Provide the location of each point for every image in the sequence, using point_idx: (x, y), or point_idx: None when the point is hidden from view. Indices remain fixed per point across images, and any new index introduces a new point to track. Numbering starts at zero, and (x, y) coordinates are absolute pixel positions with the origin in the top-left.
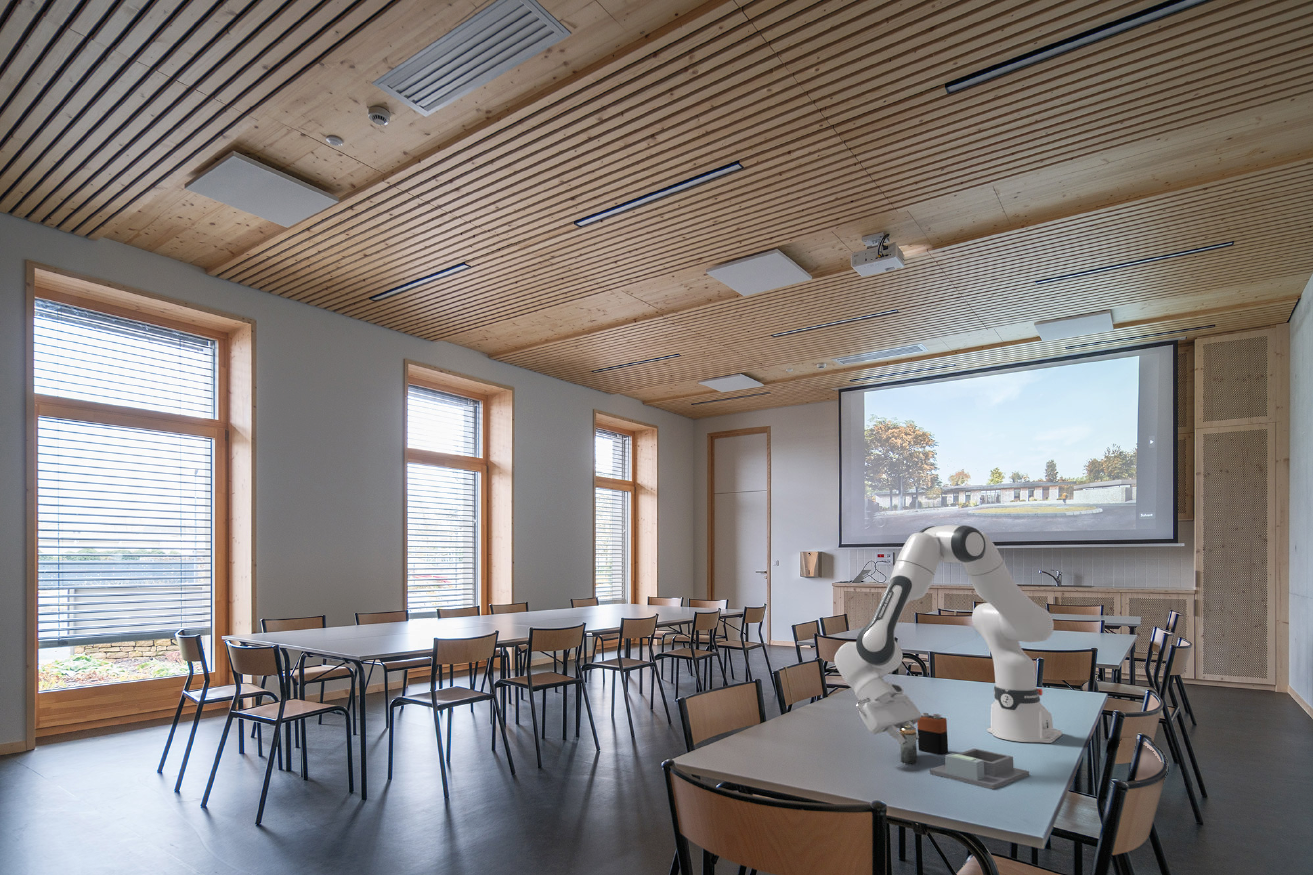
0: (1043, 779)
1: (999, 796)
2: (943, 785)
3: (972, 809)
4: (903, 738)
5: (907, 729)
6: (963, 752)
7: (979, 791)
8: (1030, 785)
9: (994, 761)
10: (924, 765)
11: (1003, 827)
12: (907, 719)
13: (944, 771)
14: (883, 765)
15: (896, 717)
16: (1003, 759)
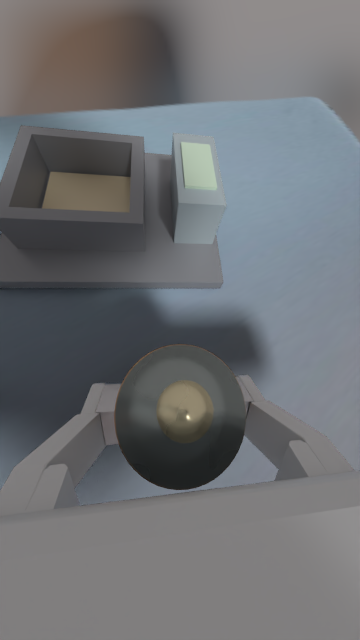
0: None
1: (228, 151)
2: (267, 228)
3: (321, 157)
4: (249, 381)
5: (226, 374)
6: (84, 218)
7: (235, 177)
8: None
9: (118, 140)
10: (157, 345)
11: (334, 119)
12: (62, 515)
13: (204, 251)
14: None
15: (286, 574)
16: (76, 132)
